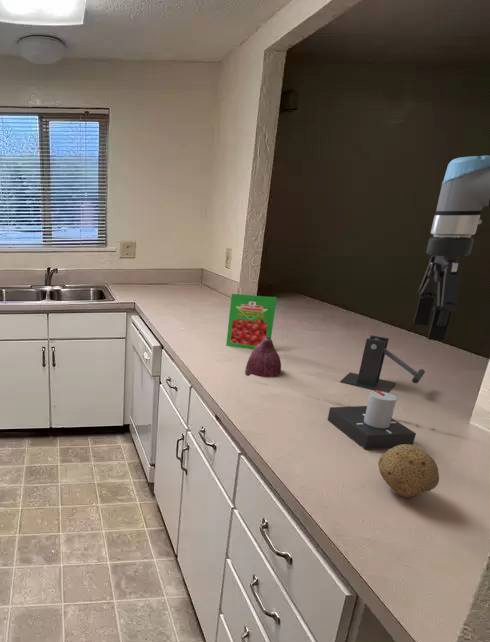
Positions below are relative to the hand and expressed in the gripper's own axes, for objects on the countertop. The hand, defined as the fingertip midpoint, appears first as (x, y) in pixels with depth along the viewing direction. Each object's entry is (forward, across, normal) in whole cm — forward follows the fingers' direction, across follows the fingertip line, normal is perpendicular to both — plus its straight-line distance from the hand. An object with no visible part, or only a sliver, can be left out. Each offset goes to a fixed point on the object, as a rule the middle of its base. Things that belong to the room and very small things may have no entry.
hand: (427, 331), depth 100 cm
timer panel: (+23, -11, +9) cm, 27 cm away
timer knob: (+19, -13, +8) cm, 24 cm away
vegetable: (+23, +19, +34) cm, 45 cm away
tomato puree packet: (+22, +45, +41) cm, 65 cm away
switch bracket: (+23, +21, +6) cm, 31 cm away
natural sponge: (+23, -34, +7) cm, 42 cm away
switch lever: (+14, +19, +1) cm, 24 cm away
